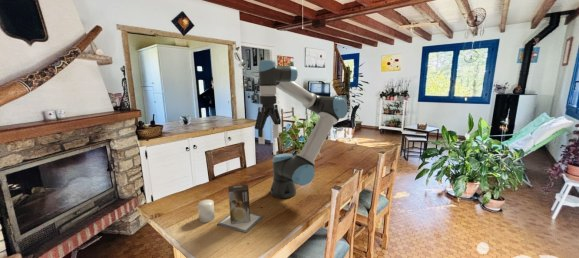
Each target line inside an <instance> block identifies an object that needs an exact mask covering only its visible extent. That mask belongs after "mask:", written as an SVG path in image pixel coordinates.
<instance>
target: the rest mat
mask: <svg viewBox="0 0 579 258" xmlns="http://www.w3.org/2000/svg"><path fill="white" fill-rule="evenodd" d="M263 218H264V216H263V215H260V214H256V213H251V212H250V219H251V222H244V223H237V224H231V219H230V213H229V214H228V215H226V216H225V217H224V218H223V219H221V220H220V221H218V222H217V225H218V226H222V227H225V228H228V229H231V230H234V231H237V232H238V231H239V232H241V233H244V234H247V233H248V232H249V231H251V229H252V228H253V227H254V226H255V225H256V224H258V223H259V222H260V221H261V220H262V219H263Z"/></svg>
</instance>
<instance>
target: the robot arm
mask: <svg viewBox="0 0 579 258" xmlns="http://www.w3.org/2000/svg"><path fill="white" fill-rule="evenodd" d="M276 63H277V62H276V60H271V59H263V60H260V61H259V62H258V77H259V78H258V79H259V80H258V81H259V84H258V85H259V95H260V96H259V104H260V105H262V106H258V108H257V116H256V120H255V124H254V129H255V130H257V137H258V144H260V145H265V141H266V140H265V139H266V138H265V129H264V128H265V125H266V122H267V119H268V118H269V117H270V118H271V122H272V123H273V124H272V136H273V138H275V139H279V138H280V137H279V133H280V131H279V130H280V129H279V127H280V126H279V125H281V123H282V120H281V117H280V112H279V109H278V104H277V89H278V90H280V91H281V92H284V93H285V94H287V95H288V96H290V97H292V98H293V99H294V100H296V101H298V102H300V103H301V104H303V107H304V108H305V109H307V110H309V111H311V112H313V113H314V114H316V115H318V117H319V118H318V119H317V122H316V124H315V126H314V127H313V129H312V131H311V133H310V135H309V136H308V138H307V139H306V142H305V144H304V145H303V147H302V149H301V151H300V152H299V153H298V154H295V156H294V155H293V154H292V153H279V154H276V155H274V156H273V157H272V176H273V177H272V183H271V185H270V195H271V196H273V198H278V199H289V198H293V197H294V196H296V195H297V187H296V185H298V186H303V187H304V186H306V185H309V184H310V183H311V182H312V181H313V180H314V178H315V175H316V173H315V172H316V170H315V165H316V164H315V160H316V158H317V156H318V154H319V153H320V150H321V148H322V147H323V144H324V143H325V141H326V139H327V138H328V136H329V133H330V131H331V129H332V127H333V126H334V125H336V124H338V122H339V121H340V119H341V120H342V119H344V118H346V116H347V115H348V108H349V107H348V104H347V101H346V100H345V98H343V97H339V96H324V95H318V94H315V93H314V92H310V91H308V90H307V89H305V88H304V87H302V86H301V85H299V84H298V83H296V80H297V79H298V69H297V67H296V66H291V65H277V64H276Z"/></svg>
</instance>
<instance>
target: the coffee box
mask: <svg viewBox="0 0 579 258" xmlns="http://www.w3.org/2000/svg"><path fill="white" fill-rule="evenodd" d="M227 189H228V203H229V204H228V205H229V214H230V219H231V224H237V223H244V222H251V219H250V213H251V211H250V210H251V206H250V205H251V204H250V193H249V192H250V191H249V185H248V184H238V185H230V186H228V188H227Z"/></svg>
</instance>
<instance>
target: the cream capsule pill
mask: <svg viewBox="0 0 579 258" xmlns="http://www.w3.org/2000/svg"><path fill="white" fill-rule="evenodd" d="M214 202H215V201H214V200H212V199H203V200H201V201H199V202H198V203H197V207H198V210H197V211H198V221H199V222H201V223H204V224H206V223H211V222H212V221H214V220H215V217H216V216H215V205H214V204H215V203H214Z"/></svg>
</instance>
